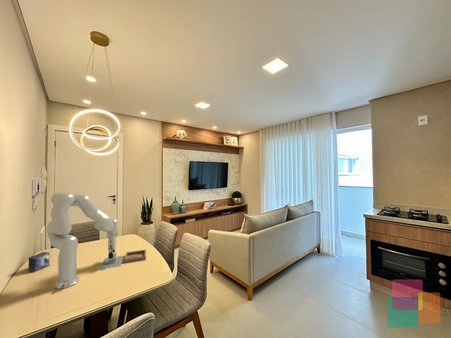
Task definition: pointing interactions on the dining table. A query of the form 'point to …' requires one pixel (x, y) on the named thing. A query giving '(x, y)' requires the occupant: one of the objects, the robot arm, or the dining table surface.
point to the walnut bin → (135, 256)
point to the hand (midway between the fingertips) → (111, 256)
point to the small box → (38, 261)
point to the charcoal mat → (118, 263)
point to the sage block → (113, 258)
